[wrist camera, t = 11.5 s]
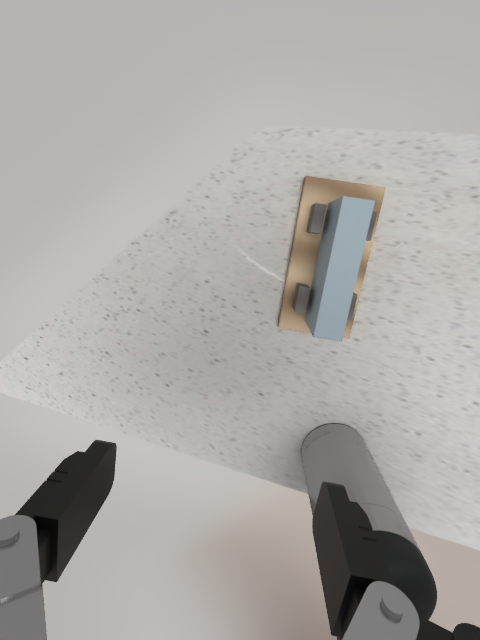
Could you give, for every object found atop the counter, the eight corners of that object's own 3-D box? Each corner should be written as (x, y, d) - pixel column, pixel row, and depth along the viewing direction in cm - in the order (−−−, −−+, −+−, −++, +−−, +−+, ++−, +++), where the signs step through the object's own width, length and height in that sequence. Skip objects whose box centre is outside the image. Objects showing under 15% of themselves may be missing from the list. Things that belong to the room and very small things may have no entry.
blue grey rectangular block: (328, 323, 41) (341, 341, 34) (304, 320, 41) (313, 336, 34) (354, 207, 37) (375, 200, 30) (328, 203, 37) (343, 196, 31)
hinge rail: (346, 335, 43) (355, 346, 38) (277, 324, 43) (280, 334, 38) (380, 189, 38) (396, 183, 34) (304, 178, 38) (310, 170, 34)
